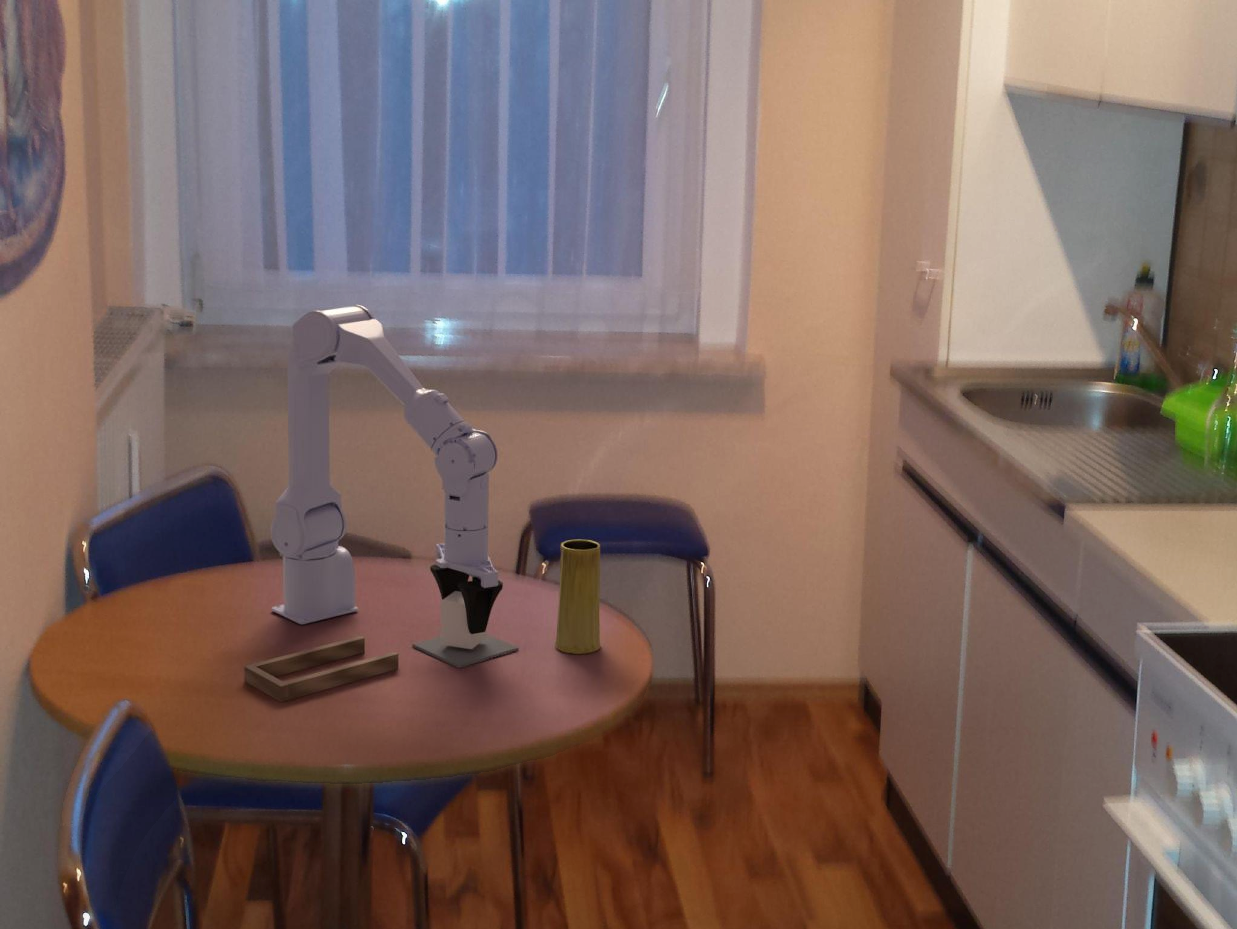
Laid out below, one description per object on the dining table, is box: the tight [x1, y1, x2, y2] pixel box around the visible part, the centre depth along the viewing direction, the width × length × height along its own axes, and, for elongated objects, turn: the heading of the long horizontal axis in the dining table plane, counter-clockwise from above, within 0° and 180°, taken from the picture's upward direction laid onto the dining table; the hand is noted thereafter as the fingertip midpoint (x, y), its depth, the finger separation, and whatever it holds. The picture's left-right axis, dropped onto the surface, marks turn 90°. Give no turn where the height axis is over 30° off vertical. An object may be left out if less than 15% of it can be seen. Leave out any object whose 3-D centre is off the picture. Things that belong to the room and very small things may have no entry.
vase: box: [554, 538, 602, 655], centre depth 189 cm, size 6×6×14 cm
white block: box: [440, 591, 487, 649], centre depth 188 cm, size 4×4×6 cm
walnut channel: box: [243, 635, 399, 703], centre depth 178 cm, size 17×8×2 cm, turn 134°
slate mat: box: [411, 633, 520, 669], centre depth 189 cm, size 10×10×1 cm
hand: (465, 624), depth 188 cm, fingers closed on white block, 6 cm apart
